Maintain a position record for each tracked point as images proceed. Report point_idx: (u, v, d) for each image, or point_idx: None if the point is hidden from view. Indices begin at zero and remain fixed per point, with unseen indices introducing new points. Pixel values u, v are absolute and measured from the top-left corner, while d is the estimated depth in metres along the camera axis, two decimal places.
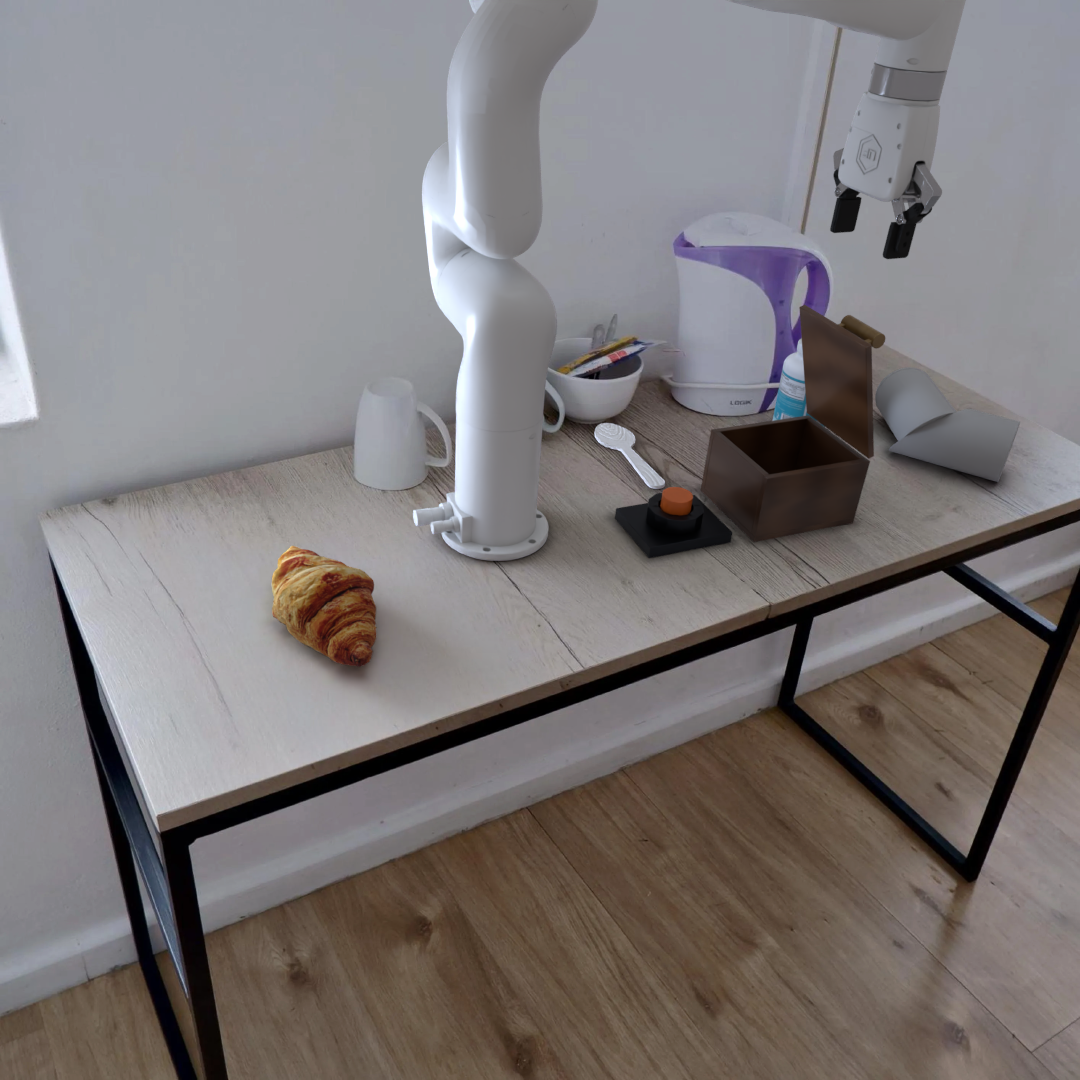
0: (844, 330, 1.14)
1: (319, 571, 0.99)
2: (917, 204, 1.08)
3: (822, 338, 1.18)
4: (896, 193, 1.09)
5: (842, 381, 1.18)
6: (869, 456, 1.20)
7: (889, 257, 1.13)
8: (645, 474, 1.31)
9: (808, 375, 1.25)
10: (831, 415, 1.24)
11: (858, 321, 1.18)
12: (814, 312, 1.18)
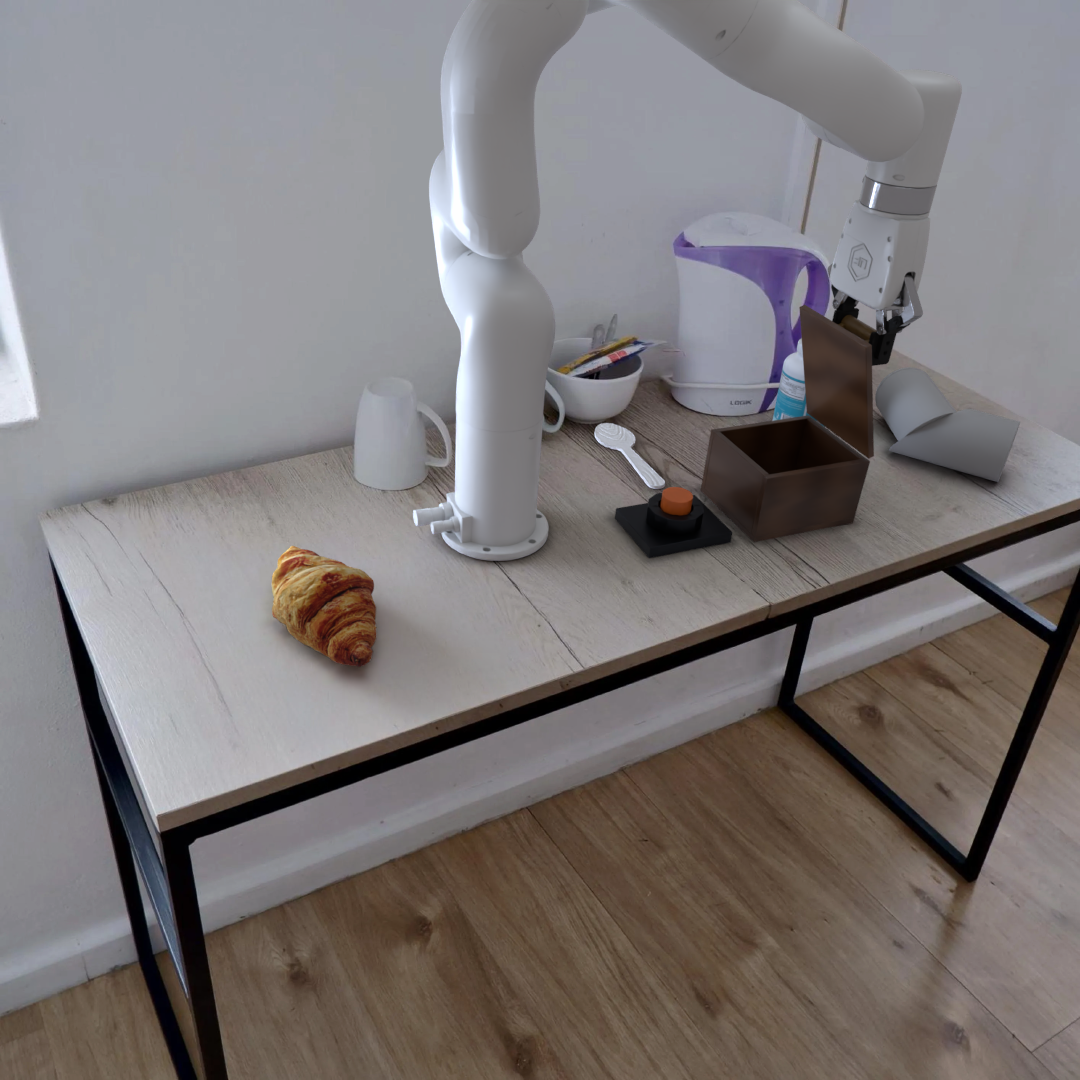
0: (844, 330, 1.14)
1: (319, 571, 0.99)
2: (896, 317, 1.11)
3: (822, 338, 1.18)
4: (887, 303, 1.10)
5: (842, 381, 1.18)
6: (869, 456, 1.20)
7: None
8: (645, 474, 1.31)
9: (808, 375, 1.25)
10: (831, 415, 1.24)
11: (858, 321, 1.18)
12: (814, 312, 1.18)
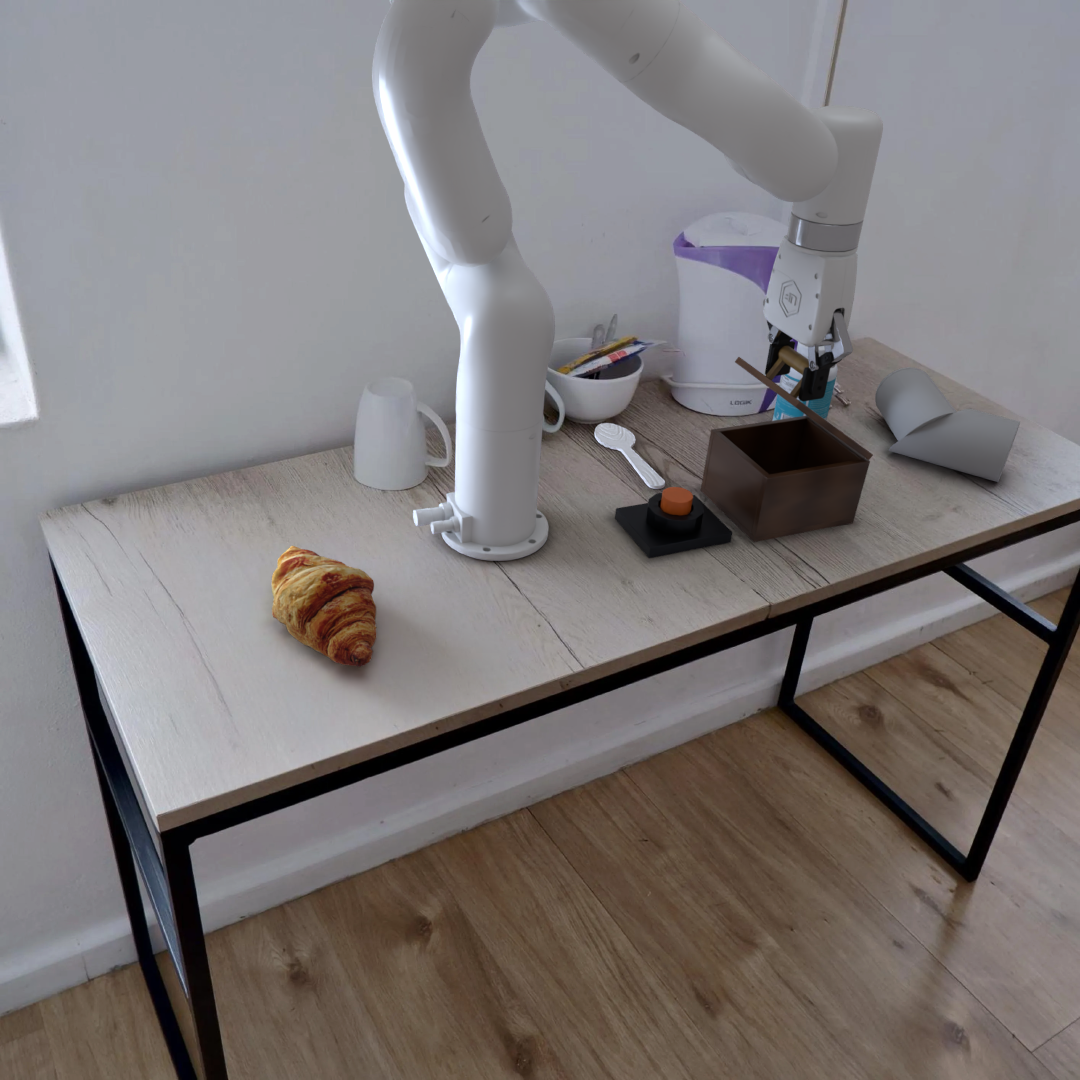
0: (775, 386, 1.14)
1: (319, 571, 0.99)
2: (827, 353, 1.10)
3: None
4: (817, 339, 1.09)
5: None
6: (868, 458, 1.20)
7: (805, 399, 1.15)
8: (645, 474, 1.31)
9: None
10: None
11: (791, 355, 1.16)
12: (747, 366, 1.19)
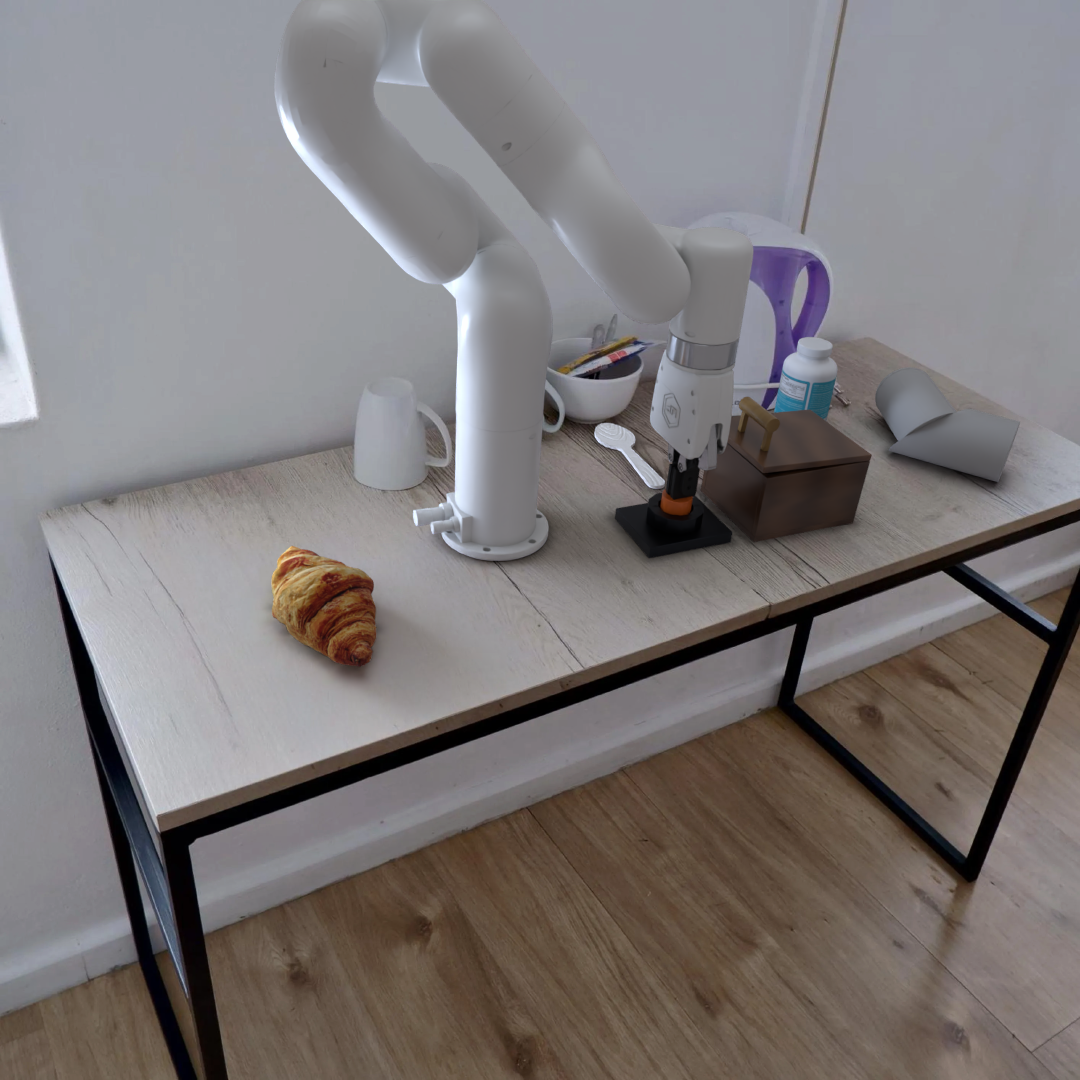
0: (742, 451, 1.18)
1: (319, 571, 0.99)
2: None
3: None
4: (695, 453, 1.09)
5: None
6: (868, 459, 1.20)
7: (676, 498, 1.17)
8: (645, 474, 1.31)
9: None
10: None
11: (748, 410, 1.18)
12: None
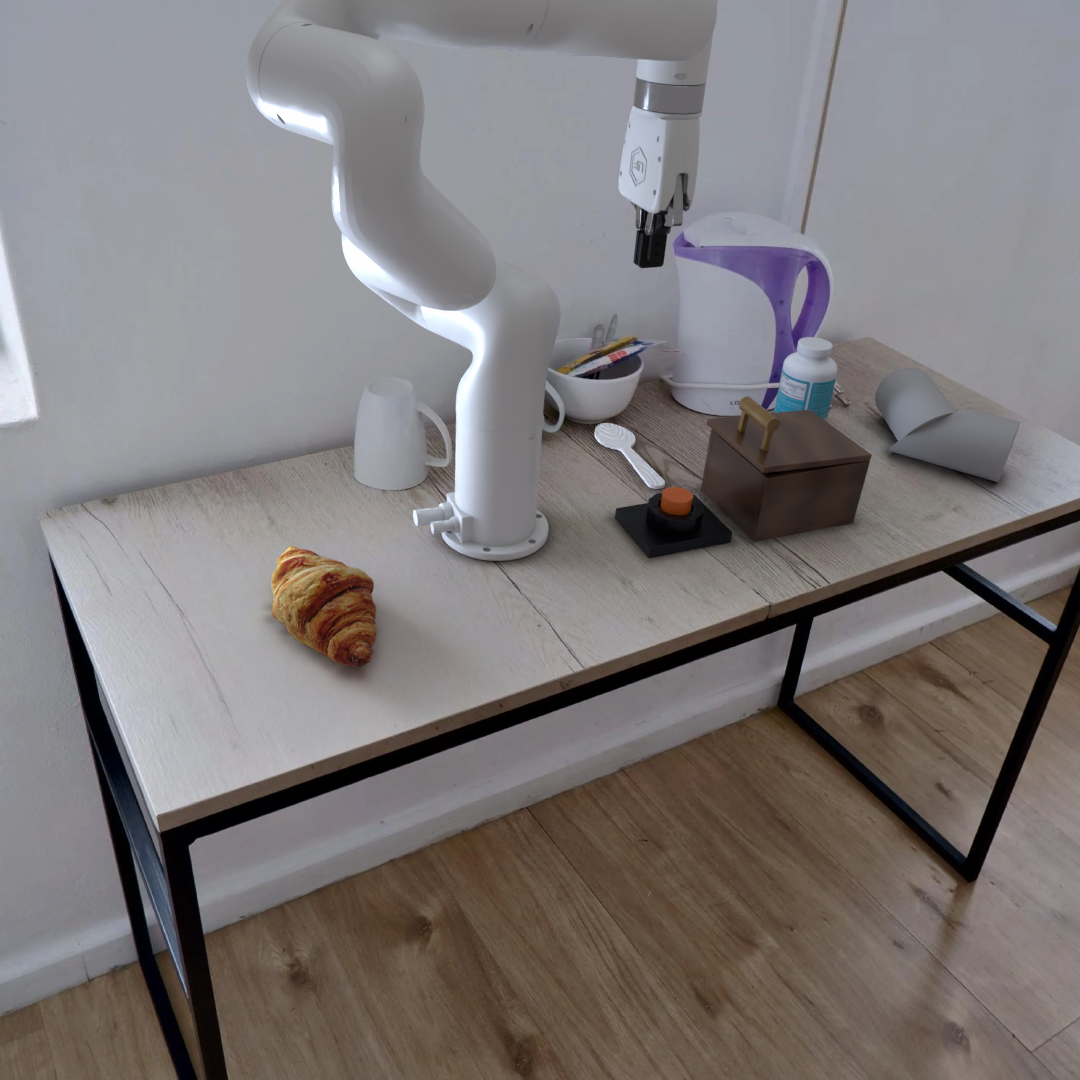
0: (742, 451, 1.18)
1: (319, 571, 0.99)
2: (659, 216, 1.13)
3: None
4: (661, 205, 1.10)
5: None
6: (868, 459, 1.20)
7: (643, 266, 1.18)
8: (645, 474, 1.31)
9: None
10: None
11: (748, 410, 1.18)
12: (717, 429, 1.22)
